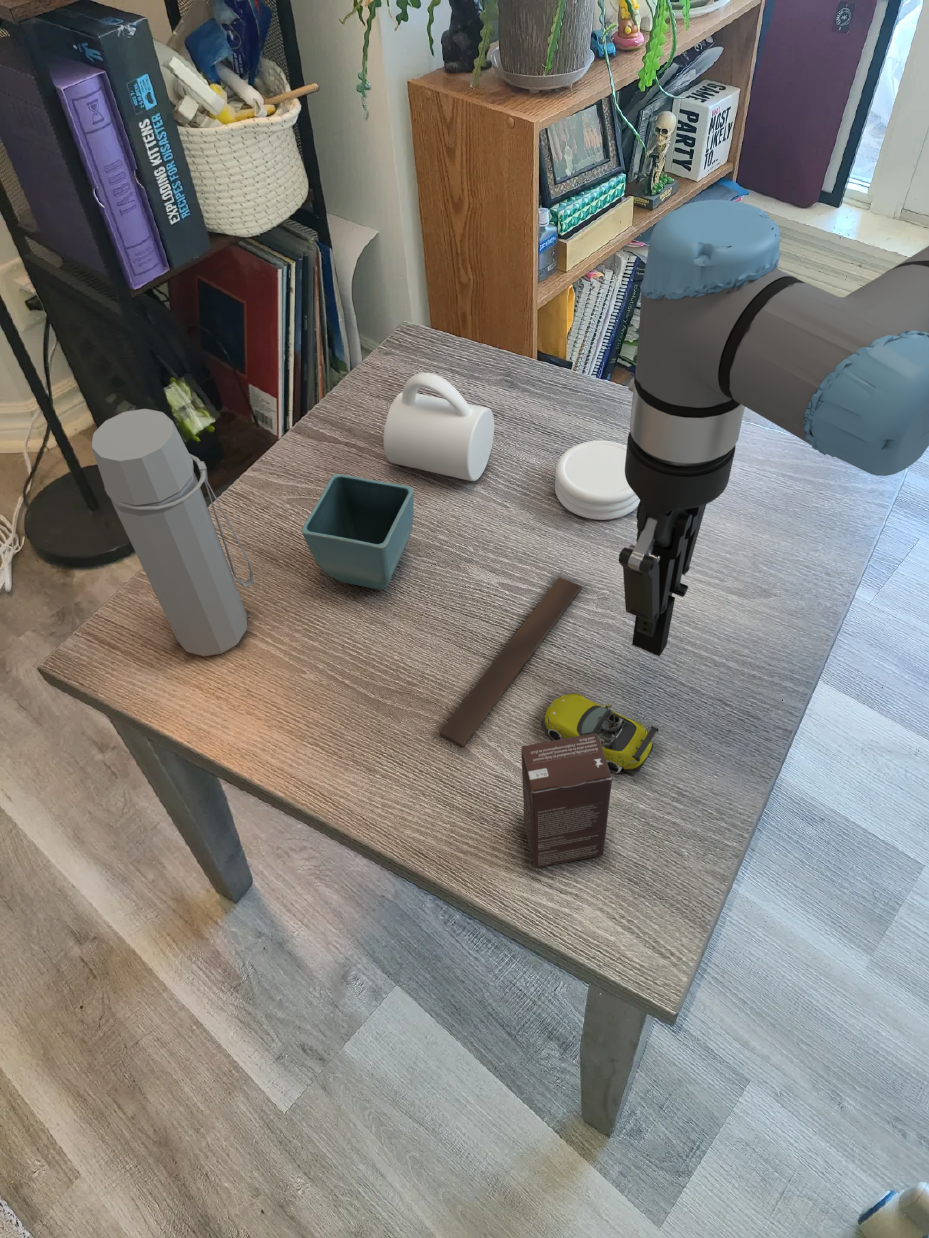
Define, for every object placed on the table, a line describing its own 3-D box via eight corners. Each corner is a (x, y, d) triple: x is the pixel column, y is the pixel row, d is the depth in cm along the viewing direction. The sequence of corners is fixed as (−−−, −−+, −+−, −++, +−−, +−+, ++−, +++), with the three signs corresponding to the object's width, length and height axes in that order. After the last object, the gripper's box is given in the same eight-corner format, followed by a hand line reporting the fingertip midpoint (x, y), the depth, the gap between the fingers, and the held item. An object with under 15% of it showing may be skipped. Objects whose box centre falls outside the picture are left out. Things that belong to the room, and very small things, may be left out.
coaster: (536, 496, 100) (537, 472, 98) (589, 450, 105) (590, 426, 102) (611, 535, 96) (613, 511, 93) (662, 485, 101) (665, 461, 98)
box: (590, 807, 76) (599, 729, 66) (604, 857, 73) (615, 782, 63) (520, 819, 75) (519, 743, 66) (531, 869, 72) (532, 797, 63)
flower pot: (395, 609, 91) (384, 547, 84) (315, 593, 93) (298, 531, 86) (422, 549, 96) (415, 486, 89) (346, 534, 98) (333, 472, 91)
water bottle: (188, 673, 87) (94, 477, 68) (169, 618, 91) (76, 420, 72) (278, 639, 89) (212, 440, 70) (256, 587, 94) (187, 387, 74)
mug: (470, 496, 101) (464, 409, 92) (387, 477, 104) (374, 391, 95) (495, 451, 106) (493, 364, 97) (416, 434, 109) (406, 347, 99)
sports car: (561, 692, 83) (563, 672, 81) (659, 741, 79) (664, 722, 77) (533, 731, 81) (533, 712, 78) (633, 784, 77) (636, 765, 74)
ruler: (581, 589, 91) (581, 586, 91) (463, 747, 80) (463, 744, 80) (559, 579, 92) (559, 576, 92) (439, 735, 81) (439, 732, 80)
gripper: (672, 373, 68) (643, 583, 86) (591, 471, 61) (577, 677, 79) (768, 401, 65) (717, 613, 83) (694, 508, 58) (656, 714, 76)
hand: (649, 644), depth 81 cm, fingers closed
